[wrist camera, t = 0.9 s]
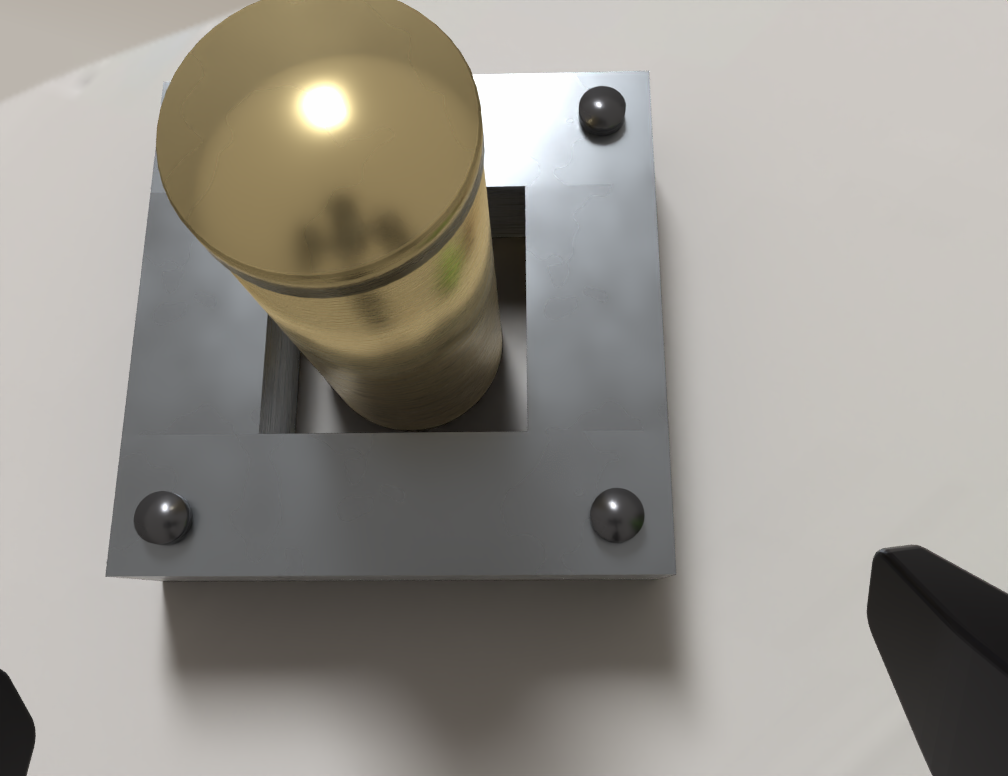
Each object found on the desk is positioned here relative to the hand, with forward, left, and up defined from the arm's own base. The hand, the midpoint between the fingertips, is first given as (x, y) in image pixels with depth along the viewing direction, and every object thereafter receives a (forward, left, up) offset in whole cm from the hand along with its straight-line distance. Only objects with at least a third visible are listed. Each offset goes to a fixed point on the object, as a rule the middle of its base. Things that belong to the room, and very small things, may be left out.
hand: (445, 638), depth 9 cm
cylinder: (+8, +2, -13) cm, 16 cm away
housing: (+8, +2, -13) cm, 15 cm away
